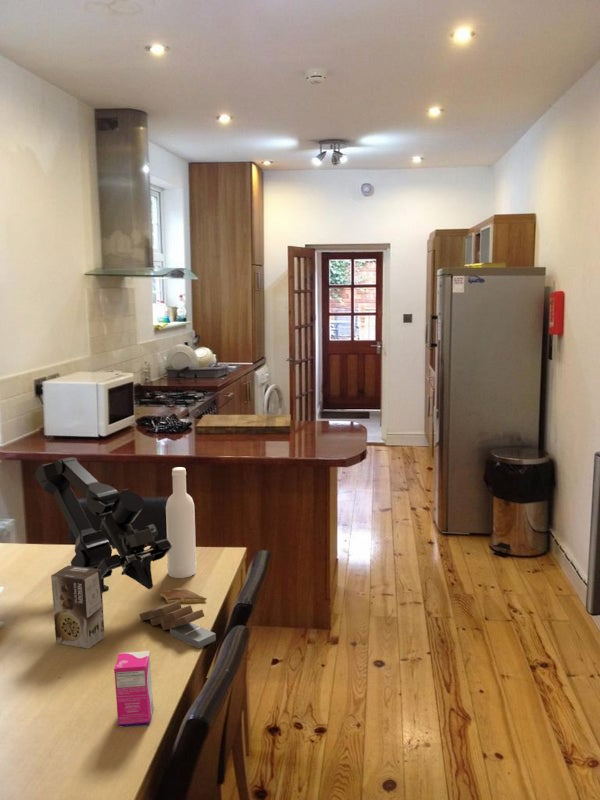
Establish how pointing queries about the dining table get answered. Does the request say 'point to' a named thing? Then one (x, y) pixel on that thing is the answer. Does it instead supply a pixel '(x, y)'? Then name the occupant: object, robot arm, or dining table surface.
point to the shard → (182, 596)
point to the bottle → (180, 528)
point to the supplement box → (133, 688)
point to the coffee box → (78, 606)
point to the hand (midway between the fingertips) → (150, 588)
